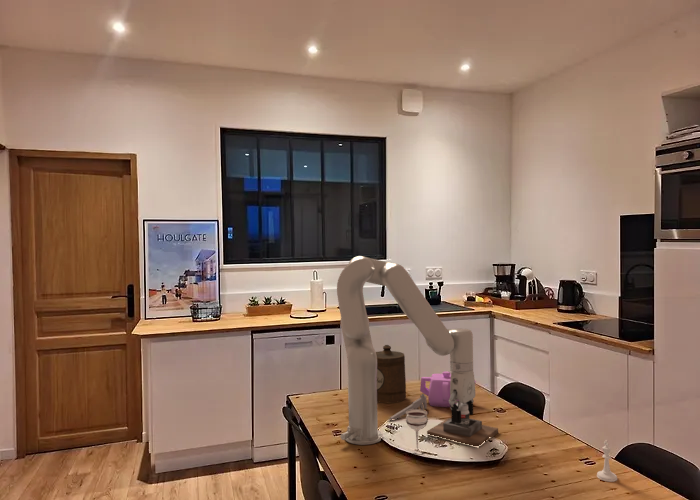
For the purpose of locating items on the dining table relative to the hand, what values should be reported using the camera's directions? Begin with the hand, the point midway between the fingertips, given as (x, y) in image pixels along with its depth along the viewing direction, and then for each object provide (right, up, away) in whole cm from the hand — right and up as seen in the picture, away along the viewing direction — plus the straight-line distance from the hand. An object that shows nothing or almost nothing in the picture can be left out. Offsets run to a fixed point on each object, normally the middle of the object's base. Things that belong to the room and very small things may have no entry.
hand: (462, 418), depth 168 cm
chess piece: (+32, -5, -33) cm, 46 cm away
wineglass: (-17, -6, -13) cm, 22 cm away
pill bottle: (0, -4, 0) cm, 4 cm away
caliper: (-16, -6, +20) cm, 26 cm away
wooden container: (-22, -6, +42) cm, 47 cm away
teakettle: (+2, -5, +34) cm, 35 cm away
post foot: (0, -5, 0) cm, 5 cm away
